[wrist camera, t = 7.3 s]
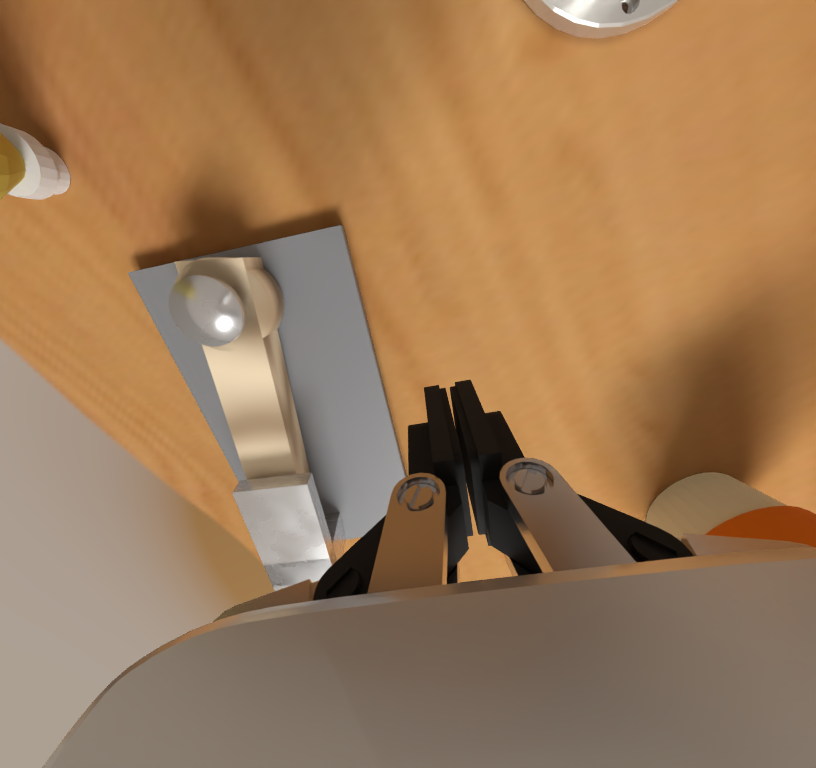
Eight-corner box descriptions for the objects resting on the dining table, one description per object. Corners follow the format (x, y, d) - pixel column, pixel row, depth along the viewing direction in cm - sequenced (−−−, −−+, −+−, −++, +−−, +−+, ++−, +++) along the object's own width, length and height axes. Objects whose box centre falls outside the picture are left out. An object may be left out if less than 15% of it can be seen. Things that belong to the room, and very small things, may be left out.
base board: (140, 271, 20) (127, 272, 19) (343, 226, 19) (340, 225, 18) (279, 542, 29) (276, 551, 28) (417, 518, 29) (417, 527, 28)
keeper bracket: (259, 452, 24) (232, 492, 20) (322, 445, 24) (307, 484, 20) (292, 542, 28) (274, 590, 24) (346, 536, 28) (337, 584, 24)
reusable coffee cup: (718, 431, 26) (1083, 631, 12) (786, 498, 29) (1134, 716, 15) (600, 520, 30) (779, 752, 16) (673, 571, 33) (872, 799, 19)
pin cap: (172, 281, 16) (154, 283, 15) (237, 267, 16) (224, 268, 15) (203, 345, 18) (189, 352, 16) (263, 333, 17) (253, 339, 16)
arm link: (187, 259, 18) (158, 260, 16) (274, 254, 18) (257, 254, 16) (264, 503, 26) (251, 526, 23) (325, 499, 26) (318, 522, 24)
